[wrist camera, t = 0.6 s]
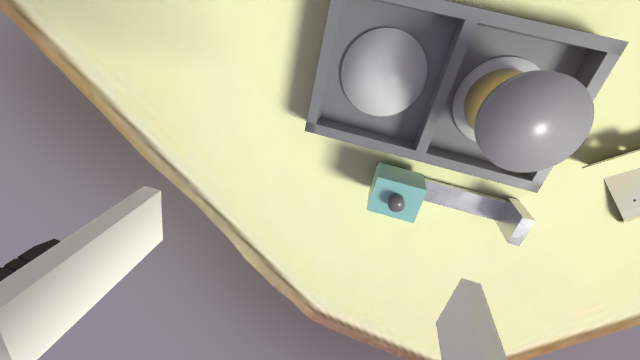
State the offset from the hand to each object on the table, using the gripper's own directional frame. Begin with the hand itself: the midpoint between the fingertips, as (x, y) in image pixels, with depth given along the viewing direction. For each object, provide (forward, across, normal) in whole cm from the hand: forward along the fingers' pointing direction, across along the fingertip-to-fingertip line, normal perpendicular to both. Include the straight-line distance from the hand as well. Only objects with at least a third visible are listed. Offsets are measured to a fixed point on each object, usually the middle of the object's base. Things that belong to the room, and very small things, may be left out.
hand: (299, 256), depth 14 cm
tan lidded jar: (+23, +13, +5) cm, 27 cm away
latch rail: (+24, +12, -6) cm, 27 cm away
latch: (+23, +6, -6) cm, 24 cm away
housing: (+24, +8, +5) cm, 26 cm away
